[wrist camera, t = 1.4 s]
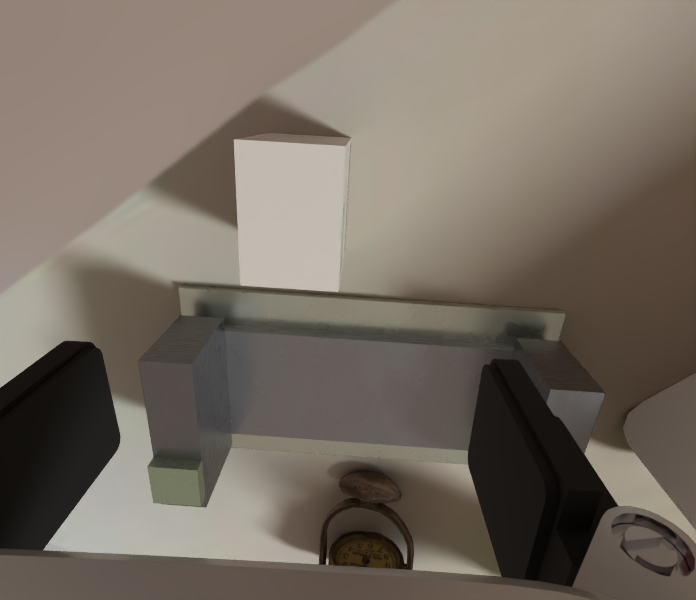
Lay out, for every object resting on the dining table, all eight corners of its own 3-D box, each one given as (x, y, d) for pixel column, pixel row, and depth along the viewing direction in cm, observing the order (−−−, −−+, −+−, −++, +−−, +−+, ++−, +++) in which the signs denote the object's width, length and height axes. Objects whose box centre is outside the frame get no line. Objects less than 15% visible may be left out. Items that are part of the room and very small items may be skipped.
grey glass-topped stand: (181, 284, 31) (117, 343, 23) (562, 310, 30) (631, 379, 22) (198, 439, 36) (151, 530, 28) (520, 462, 36) (563, 561, 28)
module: (270, 132, 27) (233, 139, 19) (351, 137, 26) (346, 146, 19) (271, 243, 29) (240, 285, 22) (345, 247, 29) (338, 292, 22)
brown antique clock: (275, 606, 36) (380, 669, 36) (328, 521, 30) (456, 594, 30) (306, 533, 43) (396, 585, 42) (355, 450, 37) (461, 509, 36)
